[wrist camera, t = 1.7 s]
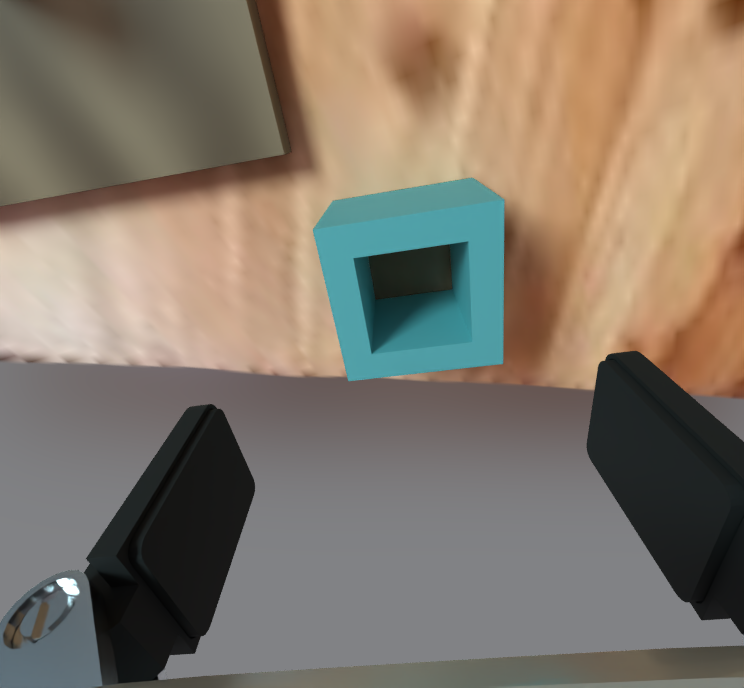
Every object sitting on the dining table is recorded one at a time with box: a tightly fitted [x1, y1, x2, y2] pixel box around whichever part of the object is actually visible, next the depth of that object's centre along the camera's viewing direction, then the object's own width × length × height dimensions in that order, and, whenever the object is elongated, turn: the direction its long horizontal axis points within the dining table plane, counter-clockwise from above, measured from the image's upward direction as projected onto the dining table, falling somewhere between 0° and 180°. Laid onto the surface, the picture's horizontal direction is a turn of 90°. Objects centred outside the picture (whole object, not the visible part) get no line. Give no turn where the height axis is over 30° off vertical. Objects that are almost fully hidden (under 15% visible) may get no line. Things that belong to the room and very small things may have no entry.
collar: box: [313, 178, 504, 381], centre depth 18 cm, size 7×7×6 cm
